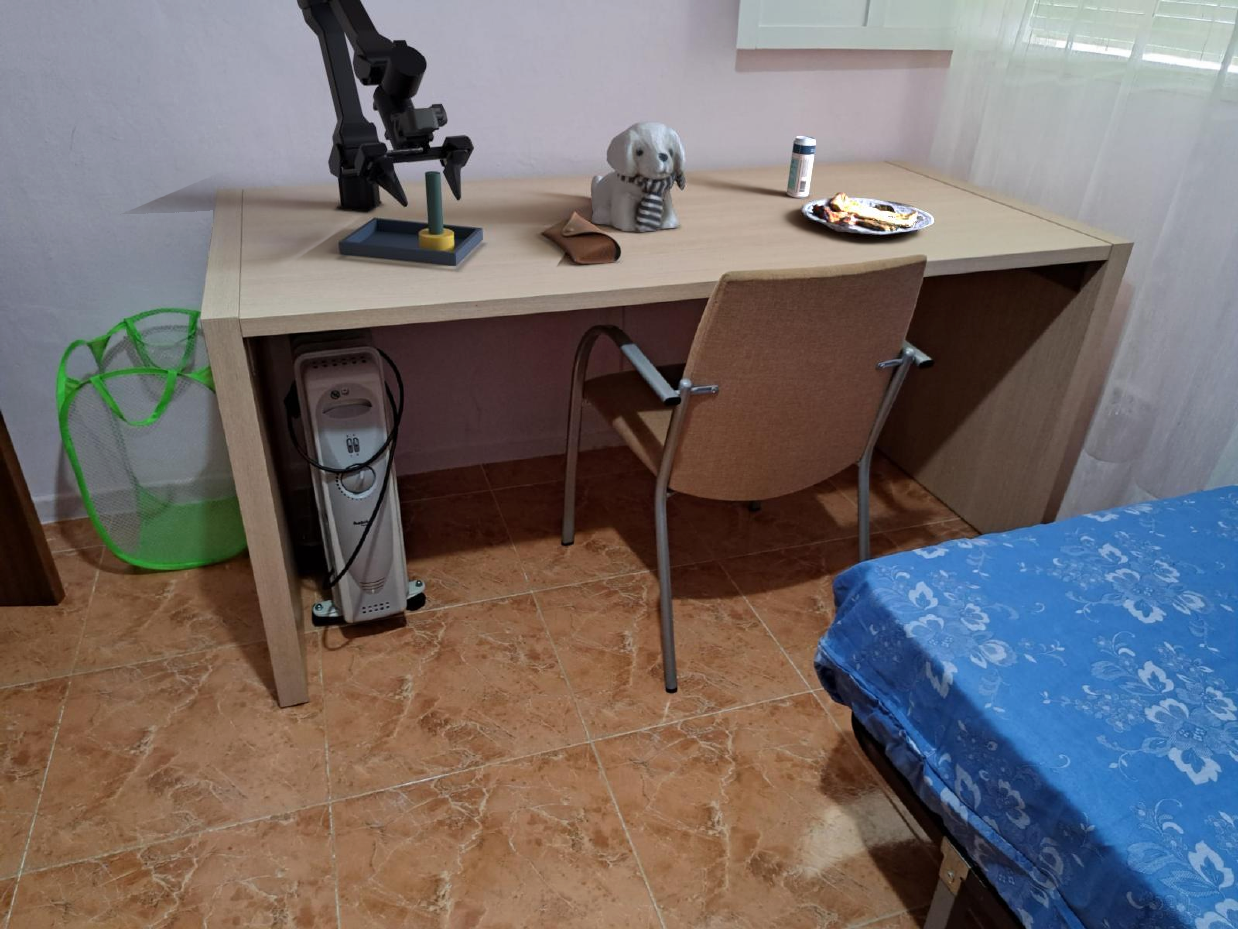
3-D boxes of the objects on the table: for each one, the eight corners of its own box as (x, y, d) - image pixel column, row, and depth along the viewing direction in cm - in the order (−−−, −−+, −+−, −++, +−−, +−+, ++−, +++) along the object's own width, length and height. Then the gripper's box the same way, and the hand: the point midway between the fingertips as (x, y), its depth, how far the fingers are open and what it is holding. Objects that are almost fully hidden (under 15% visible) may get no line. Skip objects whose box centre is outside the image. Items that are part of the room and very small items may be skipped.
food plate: (777, 220, 178) (780, 202, 176) (839, 201, 193) (842, 184, 191) (892, 251, 164) (896, 232, 162) (949, 227, 179) (953, 210, 177)
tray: (340, 258, 146) (338, 241, 145) (375, 233, 159) (374, 217, 157) (456, 270, 144) (455, 253, 143) (483, 243, 157) (482, 227, 155)
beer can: (811, 195, 196) (820, 137, 189) (803, 199, 192) (811, 141, 186) (791, 191, 198) (799, 134, 192) (782, 195, 194) (790, 137, 188)
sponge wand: (415, 257, 146) (409, 175, 140) (426, 247, 151) (421, 167, 144) (448, 260, 146) (443, 178, 139) (459, 250, 150) (455, 170, 144)
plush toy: (653, 239, 163) (660, 133, 154) (543, 213, 174) (543, 113, 165) (700, 218, 176) (709, 119, 167) (594, 195, 187) (597, 101, 178)
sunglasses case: (534, 232, 162) (552, 198, 160) (565, 248, 166) (582, 215, 164) (576, 263, 148) (596, 227, 146) (608, 280, 152) (628, 245, 151)
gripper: (353, 88, 135) (388, 179, 133) (466, 82, 144) (501, 167, 142) (340, 133, 144) (373, 219, 142) (447, 125, 154) (479, 205, 152)
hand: (433, 202), depth 144 cm, fingers open, 9 cm apart
